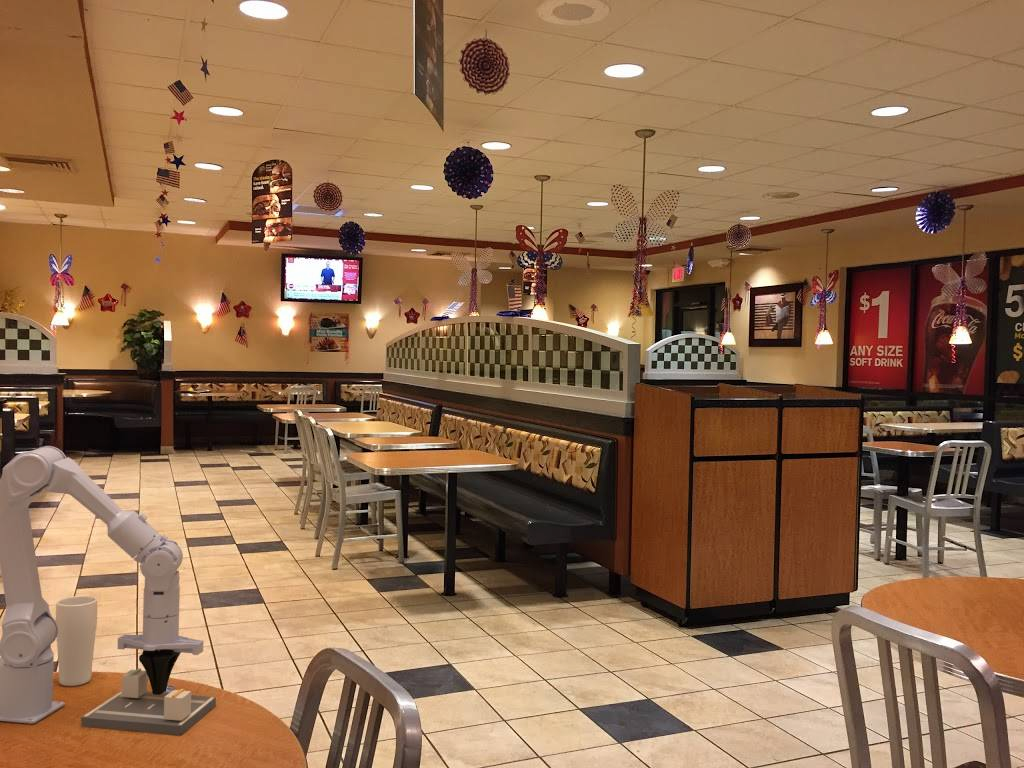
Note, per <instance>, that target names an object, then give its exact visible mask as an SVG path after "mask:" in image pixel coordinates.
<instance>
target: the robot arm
mask: <svg viewBox="0 0 1024 768" xmlns="http://www.w3.org/2000/svg"><path fill="white" fill-rule="evenodd" d="M46 488H47V489H46ZM44 489H46V492H47V493H56V494H65V495H70V496H71V497H72V498H73V499H74V500H76V501H77V502H78V503H80V504H81V505H82V506H83V507H84V508H86V509H87V510H88V511H89V512H91V513H92V514H93V515H94V516H96V517H97V518H98V519H99V520H100V521H101V522H103V523H104V524H105V525H106V527H107V528H106V529H107V537H108V538H109V539H111V541H113V542H114V543H115V544H116V545H117V546H118V547H119V548H120V549H121V550H123V552H125V554H127V555H128V556H129V557H130V558H132V559H133V560H134V561H135V562H138V563H140V564H139V570H140V571H141V574H142V576H143V577H144V588H143V605H142V607H143V608H142V609H143V611H142V634H123V635H121V636H119V637H118V638H117V650H125V649H131V650H133V649H134V650H142V652H141V653H142V654H140V655H139V656H138V661H139V662H140V664H141V665H142V666H143V668H144V669H143V670H144V671H146V673H147V675H148V680H149V681H148V682H149V684H150V687H151V688H150V689H151V692H152V693H153V694H155V695H161V694H162V693H166V691H167V687H168V683H169V681H170V677H171V673H172V671H173V668H174V666H175V664H176V663H177V661H178V658H179V657H180V654H181V653H185V654H192V655H193V656H199V655H200V654H202V653H203V652H204V640H203V639H202V640H201V639H195V638H192V637H191V638H190V637H187V636H183V635H179V633H180V632H179V630H180V629H179V628H180V627H179V626H180V624H179V623H180V590H181V589H180V588H181V586H180V571H179V568H180V567H181V564H182V562H183V556H184V555H183V550H182V548H181V547H180V546H179V545H178V543H177V541H176V540H175V541H174V540H172V539H168V536H167V535H166V534H165V533H163V534H161V533H159V532H158V531H157V530H156V529H155V528H154V527H153V526H152V525H151V524H150V523H148V521H147V519H148V516H146V515H145V514H144V513H143V512H141V513H139V514H138V513H137V512H136V511H135V510H124V509H122V508H121V507H120V506H119V505H118V504H117V503H116V502H115V501H114V500H113V499H112V498H111V497H110V496H109V495H108V494H107V493H106V492H105V490H103V489H102V487H100V486H99V485H98V484H97V483H96V482H95V481H94V480H93V479H92V478H91V477H90V476H89V475H88V474H87V472H85V471H84V470H83V468H81V467H80V465H78V464H77V462H76V461H75V460H73V459H72V458H70V457H67V456H66V455H65V453H64V452H63V451H62V450H61V449H59V448H57V447H55V446H52V445H44V446H40V447H38V448H36V449H34V450H30V451H23V452H21V453H19V454H16V456H14V457H13V458H12V459H11V460H10V461H9V462H8V463H7V464H6V465H5V466H4V467H3V468H2V475H1V477H0V573H1V580H2V586H3V593H4V600H5V606H6V608H5V612H4V615H3V617H2V622H1V629H2V633H1V639H0V722H11V723H21V724H23V723H24V724H36V723H38V722H39V721H41V720H42V719H44V718H46V717H47V716H49V715H51V714H52V713H54V712H55V711H57V710H58V709H59V710H60V708H62V707H64V706H65V702H64V701H58V700H57V701H55V700H54V659H55V658H54V655H55V653H54V652H53V650H52V647H51V646H52V644H53V643H55V641H56V640H57V635H58V624H57V622H56V618H54V617H53V615H52V613H51V611H50V605H49V603H48V602H47V601H46V600H45V598H43V594H42V587H41V582H40V581H41V580H40V574H39V569H38V561H37V555H36V549H35V542H34V535H33V529H32V523H31V522H32V521H31V516H30V510H29V506H30V505H31V504H32V503H33V501H34V500H35V499H36V498H37V497H38V496H39V495H40V494H41V492H42V491H43V490H44Z"/></svg>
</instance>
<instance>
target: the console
mask: <svg viewBox="0 0 1024 768" xmlns="http://www.w3.org/2000/svg"><path fill="white" fill-rule="evenodd" d="M169 693H170V692H164V693H162V694H161V695H155V694H153V693H152V691H148V690H147V692H146V693H145V694H143V695H142V696H140V697H139V698H131V697H121V691H119V692H118V693H116V694H114V695H113V696H112V697H110V698H109V699H107V700H105V701H104V702H102V703H101V704H99V705H98V706H96V707H95V708H94V709H92V710H90V711H88V712H87V713H85V714H84V715H82V716H81V717H80V719H81V721H80V727H84V728H94V729H104V730H105V729H107V730H116V731H117V730H118V731H128V732H141V733H150V734H161V735H172V736H173V735H174V736H182V735H183V734H184V733H186V732H187V731H188V730H189V729H190V728H191V727H193V726H194V725H195V724H196V723H197V722H199V721H200V720H201V719H203V717H204V716H206V715H207V714H208V713H209V712H210V711H211V710H212V709H214V708H215V707H216V706H217V697H216V696H210V695H209V696H208V695H196V694H195V695H194V694H191V713H190V714H189V715H188V716H187V717H185V718H184V719H183V720H182V721H179V720H168V719H164V697H165V696H166V695H168V694H169Z"/></svg>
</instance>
